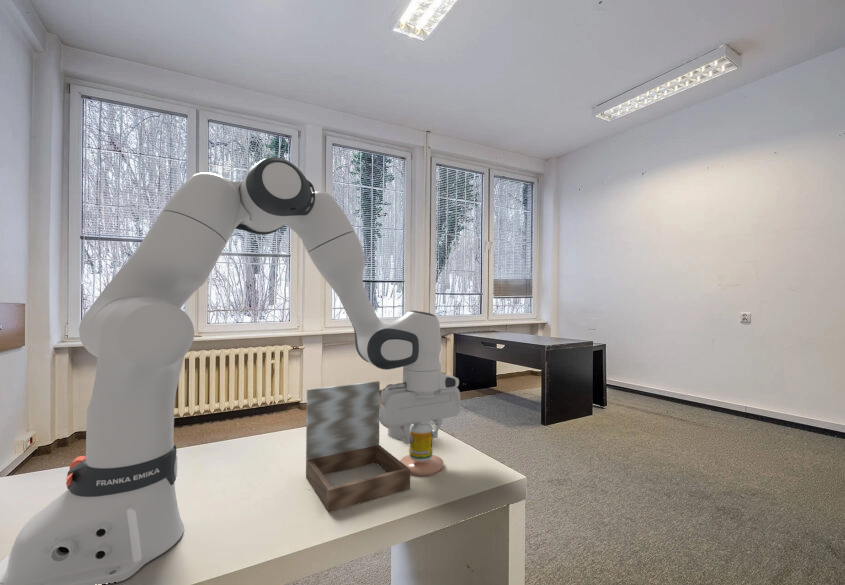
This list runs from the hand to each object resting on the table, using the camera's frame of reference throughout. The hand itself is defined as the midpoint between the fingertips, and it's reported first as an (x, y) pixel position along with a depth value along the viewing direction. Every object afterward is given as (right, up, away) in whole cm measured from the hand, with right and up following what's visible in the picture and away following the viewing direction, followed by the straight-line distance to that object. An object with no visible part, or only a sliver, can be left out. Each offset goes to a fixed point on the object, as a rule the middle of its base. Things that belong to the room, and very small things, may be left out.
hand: (421, 440), depth 89 cm
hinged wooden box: (-14, -6, -8) cm, 17 cm away
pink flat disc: (0, -6, 0) cm, 6 cm away
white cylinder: (-6, -7, +21) cm, 23 cm away
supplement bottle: (0, -4, 0) cm, 4 cm away
